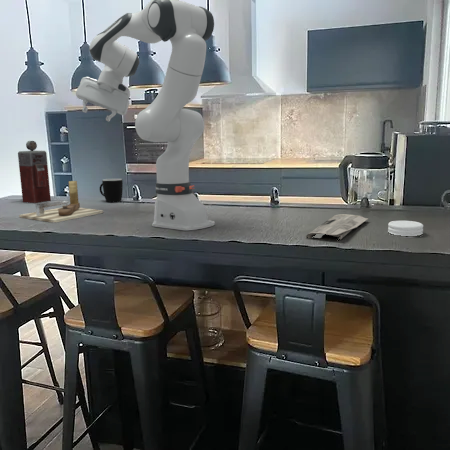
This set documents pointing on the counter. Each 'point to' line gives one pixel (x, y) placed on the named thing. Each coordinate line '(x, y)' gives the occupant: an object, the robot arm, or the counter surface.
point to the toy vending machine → (34, 174)
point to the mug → (112, 189)
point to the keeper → (41, 206)
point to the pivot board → (55, 217)
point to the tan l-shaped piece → (71, 200)
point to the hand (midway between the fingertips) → (95, 116)
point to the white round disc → (405, 228)
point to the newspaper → (338, 225)
